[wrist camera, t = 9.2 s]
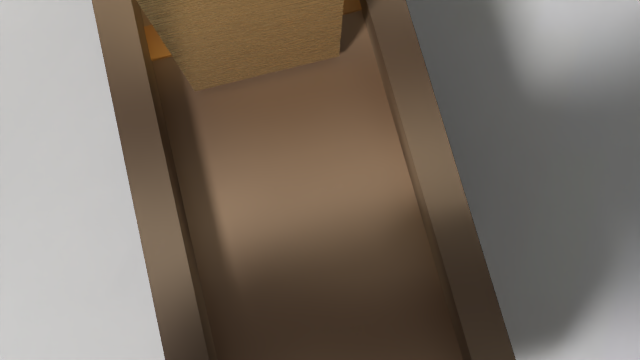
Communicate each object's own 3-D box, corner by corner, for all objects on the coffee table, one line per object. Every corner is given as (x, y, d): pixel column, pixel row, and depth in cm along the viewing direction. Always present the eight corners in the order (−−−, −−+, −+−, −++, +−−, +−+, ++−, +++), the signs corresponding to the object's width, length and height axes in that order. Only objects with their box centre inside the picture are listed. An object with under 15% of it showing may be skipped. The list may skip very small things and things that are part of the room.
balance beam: (512, 457, 20) (751, 671, 9) (233, 536, 20) (121, 863, 9) (336, -134, 25) (352, -493, 13) (102, -81, 24) (-91, -404, 13)
